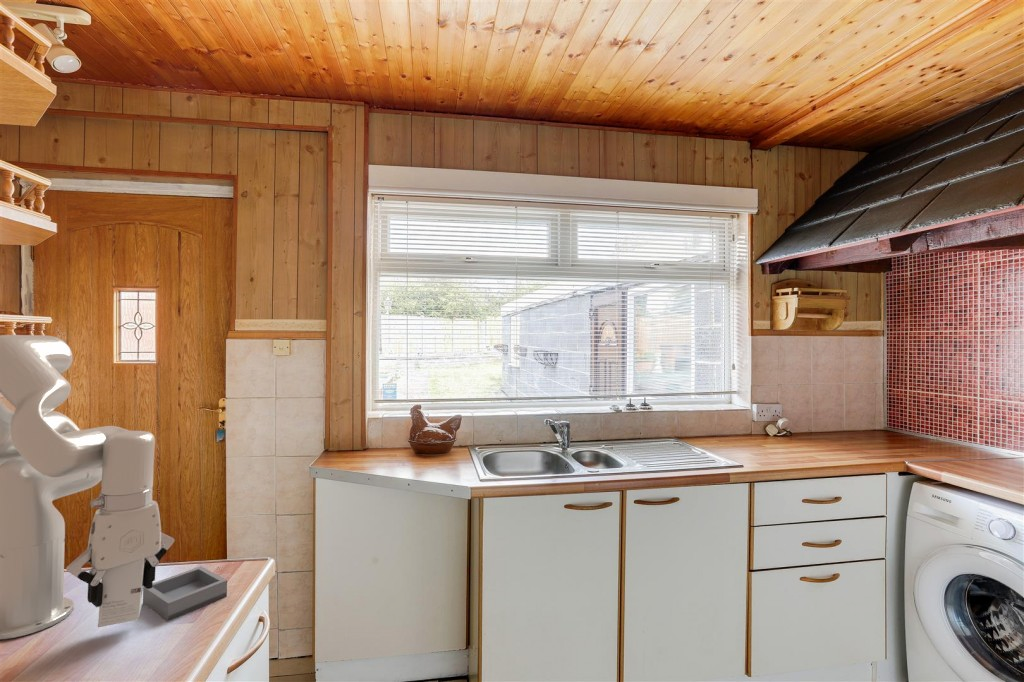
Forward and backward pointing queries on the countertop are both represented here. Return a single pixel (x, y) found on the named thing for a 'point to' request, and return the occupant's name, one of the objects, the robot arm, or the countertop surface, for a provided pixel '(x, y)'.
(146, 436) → the robot arm
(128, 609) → the skincare box
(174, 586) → the tray
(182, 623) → the countertop surface
